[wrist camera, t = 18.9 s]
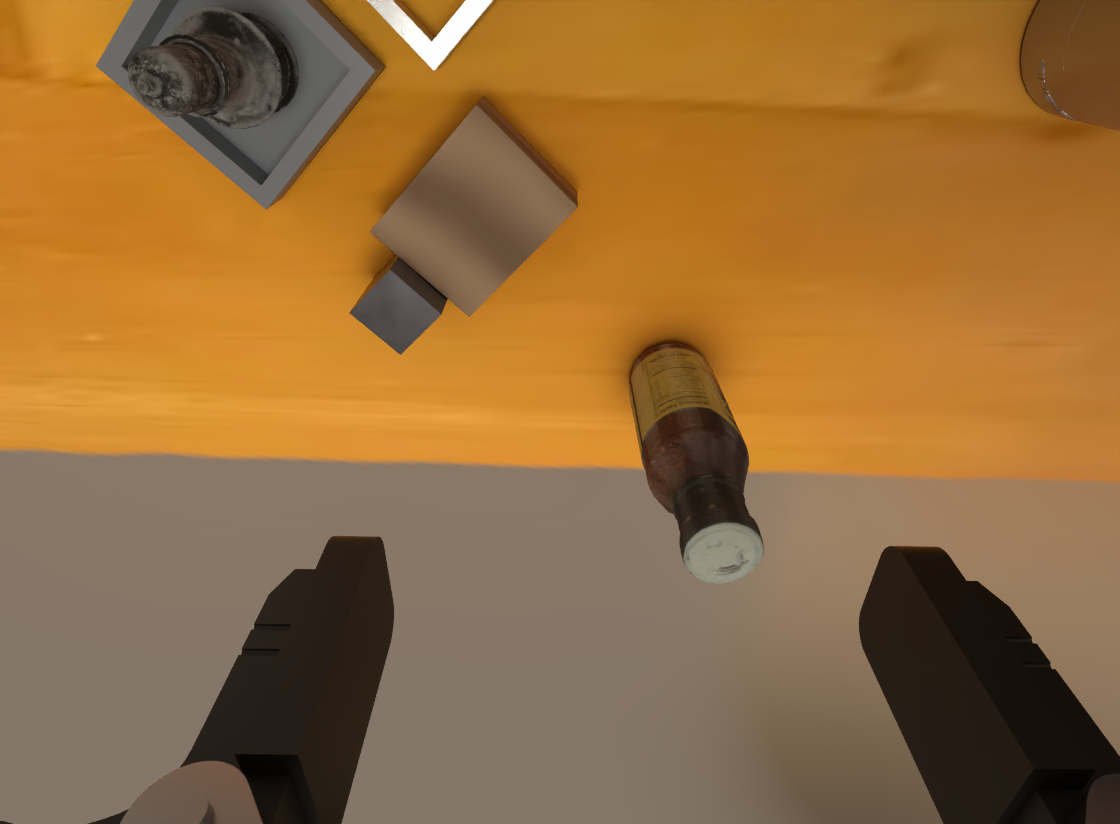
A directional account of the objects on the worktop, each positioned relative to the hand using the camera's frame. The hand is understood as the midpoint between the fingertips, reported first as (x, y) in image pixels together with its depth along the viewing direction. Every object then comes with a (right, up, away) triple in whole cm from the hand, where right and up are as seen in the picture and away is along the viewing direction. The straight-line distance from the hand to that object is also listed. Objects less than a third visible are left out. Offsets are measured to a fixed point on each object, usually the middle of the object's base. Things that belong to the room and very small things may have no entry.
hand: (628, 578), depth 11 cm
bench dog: (-11, +12, +35) cm, 39 cm away
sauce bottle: (+7, +6, +39) cm, 40 cm away
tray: (-19, +23, +28) cm, 41 cm away
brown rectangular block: (-6, +17, +33) cm, 37 cm away
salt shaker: (-19, +23, +28) cm, 41 cm away
